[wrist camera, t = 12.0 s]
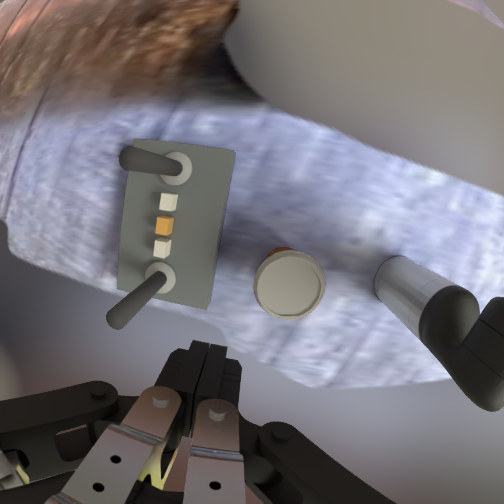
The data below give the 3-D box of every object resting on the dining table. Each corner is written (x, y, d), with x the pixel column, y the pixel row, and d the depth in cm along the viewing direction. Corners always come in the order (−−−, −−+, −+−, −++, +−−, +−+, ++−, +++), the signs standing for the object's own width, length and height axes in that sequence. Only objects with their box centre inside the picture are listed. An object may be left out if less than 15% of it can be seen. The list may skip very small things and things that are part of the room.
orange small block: (173, 217, 44) (168, 219, 41) (171, 233, 44) (166, 235, 42) (163, 215, 44) (157, 217, 41) (160, 230, 44) (155, 233, 42)
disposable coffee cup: (244, 275, 50) (239, 301, 38) (274, 226, 48) (278, 238, 36) (292, 302, 50) (300, 334, 39) (322, 256, 49) (341, 276, 37)
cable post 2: (178, 264, 45) (136, 304, 29) (174, 294, 47) (135, 345, 30) (148, 258, 45) (96, 293, 29) (146, 287, 46) (97, 333, 30)
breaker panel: (235, 153, 46) (232, 147, 39) (210, 300, 51) (203, 316, 44) (143, 141, 46) (127, 136, 39) (126, 282, 51) (110, 293, 44)
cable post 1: (195, 154, 42) (158, 135, 25) (189, 187, 43) (148, 186, 26) (164, 150, 42) (113, 132, 25) (158, 182, 43) (104, 181, 26)
